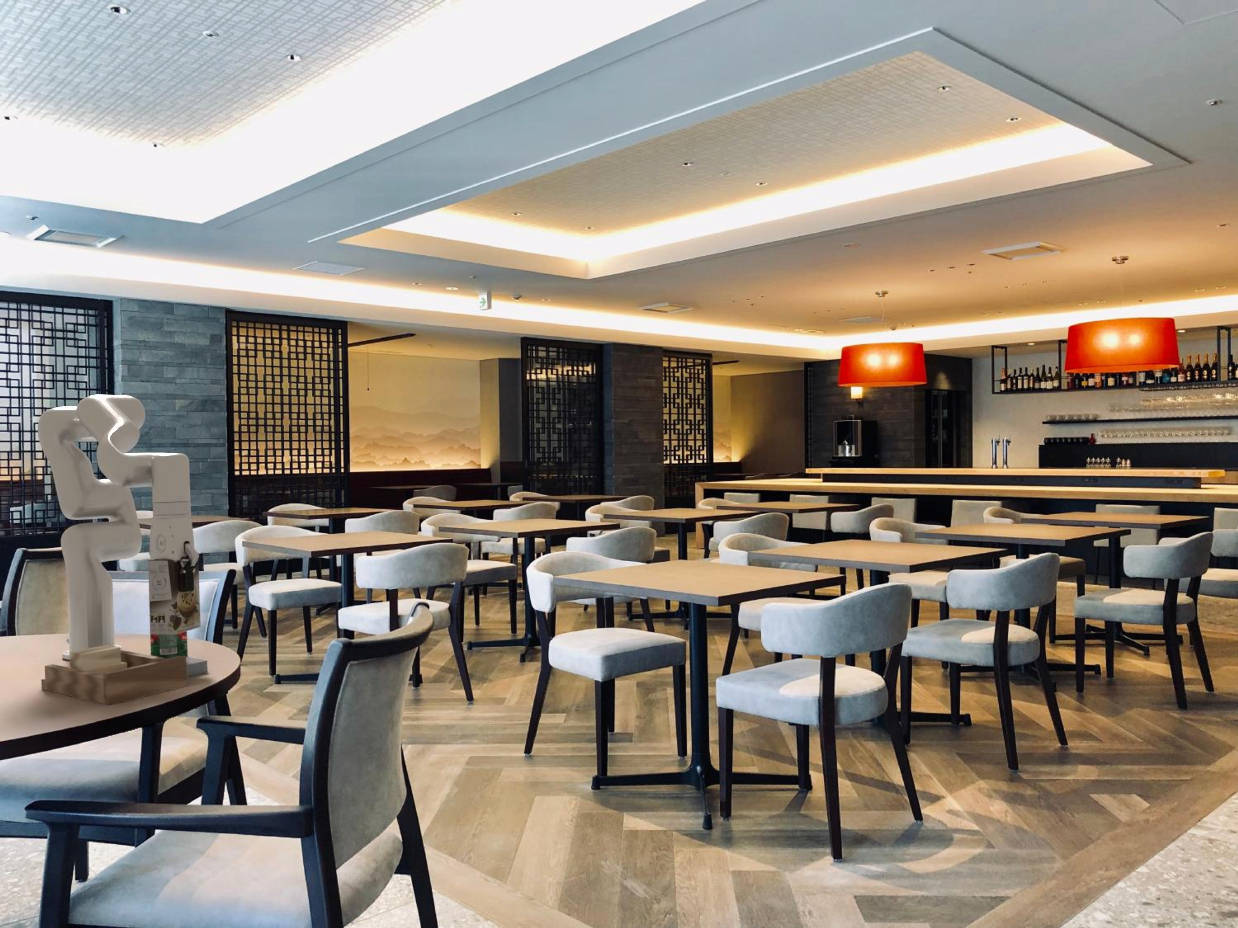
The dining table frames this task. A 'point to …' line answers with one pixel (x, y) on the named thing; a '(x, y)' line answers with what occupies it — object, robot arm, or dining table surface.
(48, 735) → the dining table surface
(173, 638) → the canned tomato
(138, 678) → the tray
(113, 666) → the offcut bottom
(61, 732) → the dining table surface
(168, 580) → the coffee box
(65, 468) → the robot arm
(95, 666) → the offcut top
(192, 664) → the trivet
